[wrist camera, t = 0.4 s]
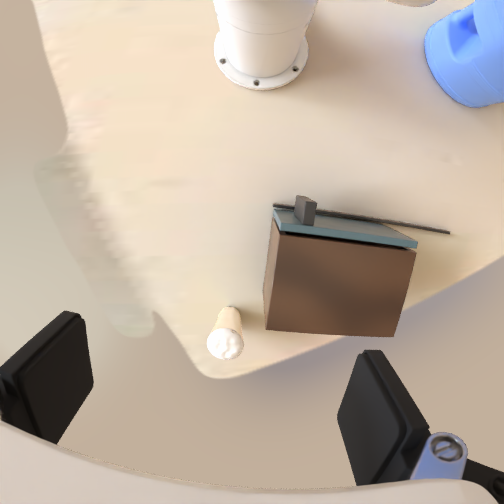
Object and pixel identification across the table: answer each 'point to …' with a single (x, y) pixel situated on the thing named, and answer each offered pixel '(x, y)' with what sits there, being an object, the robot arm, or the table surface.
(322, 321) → the cabinet
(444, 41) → the water jug
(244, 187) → the table surface
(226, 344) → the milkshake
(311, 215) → the glass door
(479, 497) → the robot arm
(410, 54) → the table surface
